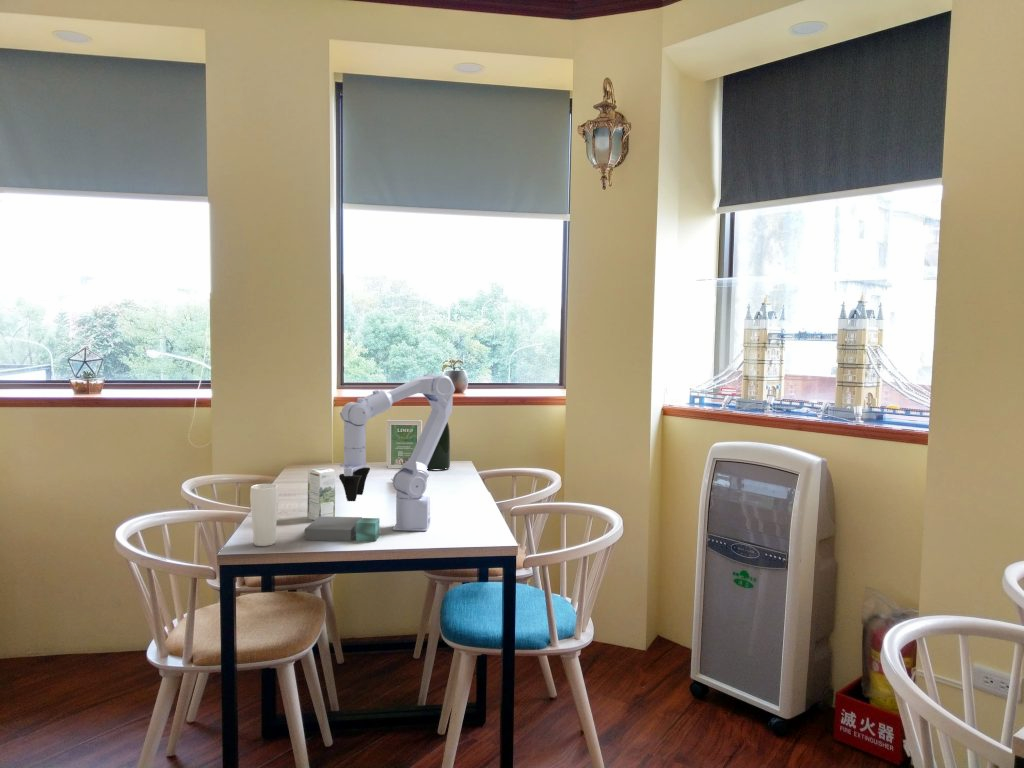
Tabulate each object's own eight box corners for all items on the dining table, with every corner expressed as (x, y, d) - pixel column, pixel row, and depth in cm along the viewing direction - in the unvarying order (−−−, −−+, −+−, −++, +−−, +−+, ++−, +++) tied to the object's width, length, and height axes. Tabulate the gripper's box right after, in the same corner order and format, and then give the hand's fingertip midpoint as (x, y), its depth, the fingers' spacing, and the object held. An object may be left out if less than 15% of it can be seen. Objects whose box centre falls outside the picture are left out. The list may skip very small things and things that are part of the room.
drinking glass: (266, 549, 180) (265, 489, 179) (244, 546, 182) (244, 487, 181) (284, 542, 186) (284, 484, 185) (263, 539, 188) (262, 482, 187)
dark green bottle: (423, 466, 297) (424, 387, 295) (448, 466, 299) (449, 387, 297) (425, 471, 287) (425, 388, 285) (451, 470, 289) (452, 389, 287)
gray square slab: (361, 527, 201) (361, 517, 201) (350, 540, 188) (350, 529, 188) (319, 526, 201) (319, 516, 201) (305, 539, 188) (305, 528, 188)
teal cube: (379, 536, 193) (379, 518, 193) (375, 541, 188) (375, 523, 188) (360, 536, 193) (360, 517, 193) (356, 541, 188) (356, 522, 188)
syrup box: (323, 515, 215) (323, 466, 214) (335, 518, 211) (335, 469, 210) (307, 518, 210) (307, 469, 209) (319, 522, 207) (319, 472, 206)
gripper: (347, 443, 199) (347, 491, 200) (332, 451, 185) (332, 503, 186) (372, 443, 199) (372, 492, 200) (359, 451, 184) (359, 504, 185)
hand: (355, 497), depth 193 cm, fingers open, 7 cm apart
